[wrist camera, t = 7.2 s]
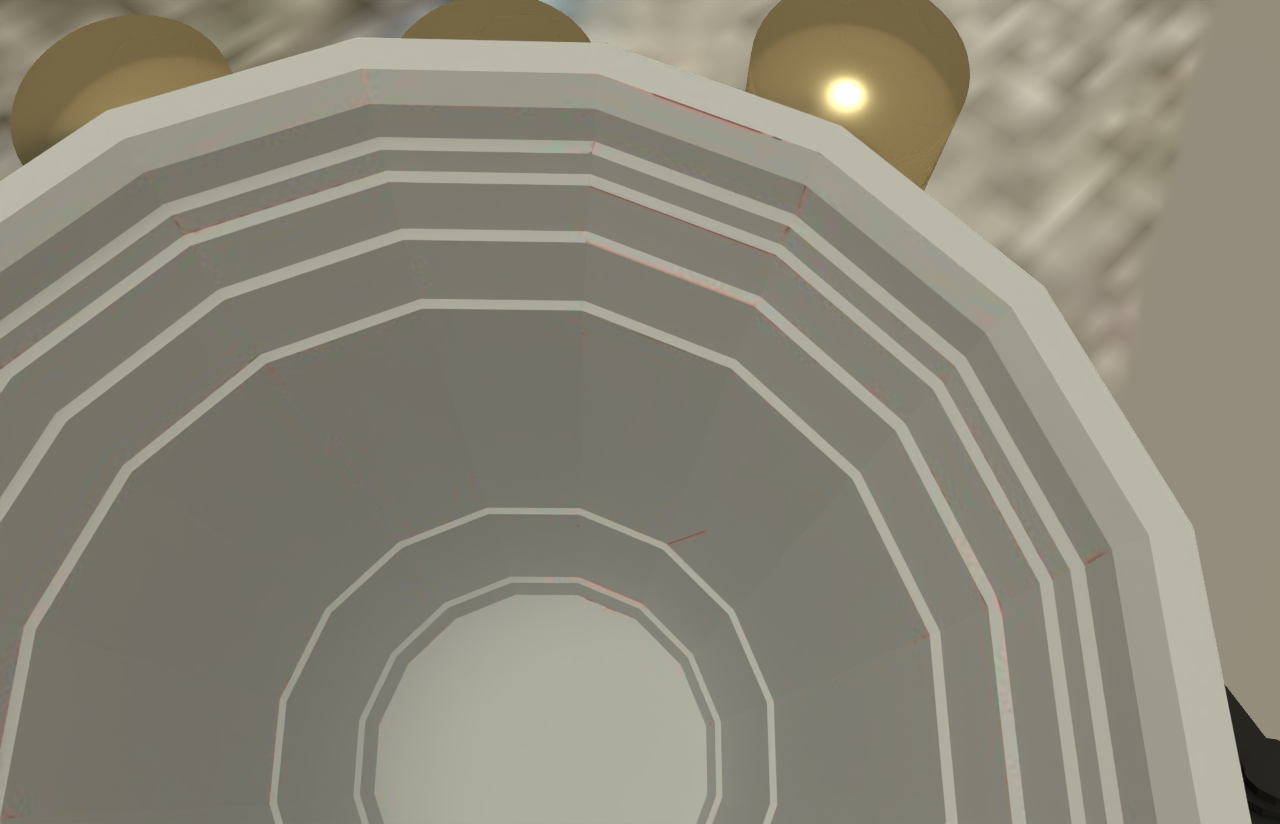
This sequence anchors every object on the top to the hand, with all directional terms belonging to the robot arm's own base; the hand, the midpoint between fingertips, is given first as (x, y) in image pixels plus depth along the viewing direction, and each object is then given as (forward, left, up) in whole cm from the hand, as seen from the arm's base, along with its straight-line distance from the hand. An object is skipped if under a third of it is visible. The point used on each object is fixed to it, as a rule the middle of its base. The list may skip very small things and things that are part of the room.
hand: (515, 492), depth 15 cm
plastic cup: (+2, -2, -5) cm, 6 cm away
